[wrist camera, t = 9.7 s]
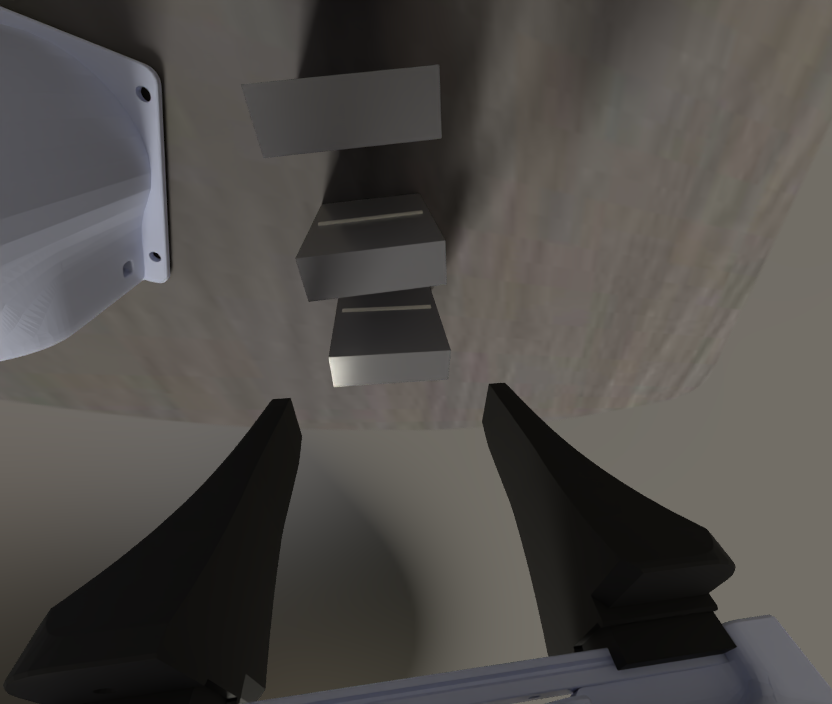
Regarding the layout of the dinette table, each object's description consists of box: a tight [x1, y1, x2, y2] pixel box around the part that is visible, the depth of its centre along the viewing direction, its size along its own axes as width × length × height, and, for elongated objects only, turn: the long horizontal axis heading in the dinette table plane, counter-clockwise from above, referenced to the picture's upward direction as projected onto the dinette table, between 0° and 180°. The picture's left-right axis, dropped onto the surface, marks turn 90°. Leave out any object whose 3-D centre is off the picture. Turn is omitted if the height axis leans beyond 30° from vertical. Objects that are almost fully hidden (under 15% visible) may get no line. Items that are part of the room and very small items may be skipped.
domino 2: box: [295, 193, 447, 302], centre depth 15 cm, size 2×5×8 cm, turn 95°
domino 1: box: [241, 65, 442, 158], centre depth 12 cm, size 2×5×8 cm, turn 95°
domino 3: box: [329, 287, 451, 387], centre depth 17 cm, size 2×5×8 cm, turn 89°
